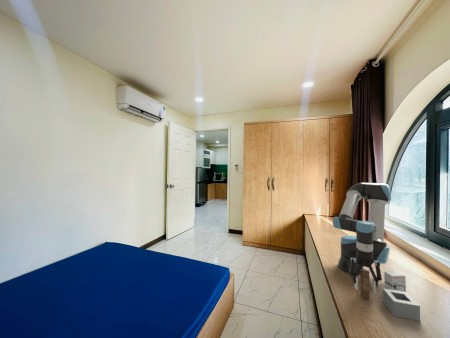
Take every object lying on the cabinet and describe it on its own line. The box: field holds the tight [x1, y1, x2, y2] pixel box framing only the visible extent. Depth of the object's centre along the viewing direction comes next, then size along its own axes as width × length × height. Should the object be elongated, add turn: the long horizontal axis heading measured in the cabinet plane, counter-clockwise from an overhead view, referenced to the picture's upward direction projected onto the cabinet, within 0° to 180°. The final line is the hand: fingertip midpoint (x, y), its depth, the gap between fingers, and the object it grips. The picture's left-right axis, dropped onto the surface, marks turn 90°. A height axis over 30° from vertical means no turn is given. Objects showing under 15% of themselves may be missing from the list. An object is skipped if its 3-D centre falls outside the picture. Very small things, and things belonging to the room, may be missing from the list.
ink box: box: [383, 270, 407, 292], centre depth 104 cm, size 9×5×12 cm, turn 92°
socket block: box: [382, 287, 421, 322], centre depth 91 cm, size 10×10×7 cm
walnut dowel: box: [359, 268, 371, 301], centre depth 101 cm, size 4×4×15 cm
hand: (364, 290), depth 101 cm, fingers open, 8 cm apart
